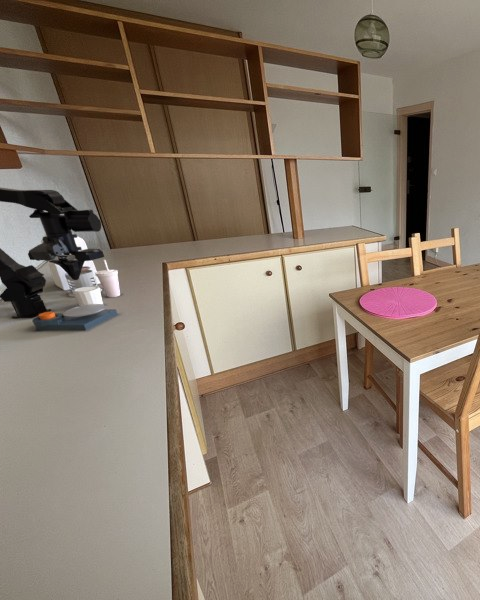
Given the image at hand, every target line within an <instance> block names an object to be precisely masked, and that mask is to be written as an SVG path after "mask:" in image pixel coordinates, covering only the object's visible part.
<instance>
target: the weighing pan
mask: <svg viewBox="0 0 480 600" xmlns="http://www.w3.org/2000/svg"><path fill="white" fill-rule="evenodd" d="M104 309H107V304H104V303H103V304H89V305H83V306H79V305H78V306H75V307H72V308H69V309H67V310H64V311H63V312H62V313H63V316H65V317H80V316H86V315H91V314H95V313H98V312H100V311H103V310H104Z"/></svg>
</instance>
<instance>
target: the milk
mask: <svg viewBox="0 0 480 600" xmlns="http://www.w3.org/2000/svg"><path fill="white" fill-rule="evenodd" d="M45 236H46V233H45V232H44V235H43V237H45ZM43 237H42V238H41V241H40V242H41V243H40V244H42V243H43ZM74 240H75V243H76V245H77V247H81V249H82V250H85V249H89V248H88V246H87V244H86V241H85V240H84V238H82V237H80V236H78V235H77V238H74ZM79 251H81V250H79ZM47 263H48V266H49V269H50V273H51V275H52V279H53V281H54V284H55V286H57V287H58V288H60V289H62V290H63V291H69V290H70V288H69V285H68V282H67V280H66V277H65V274H66V272H65V271H64V269H63V268H62V267H60V266H59V265H57V264H55V263H51V262H49V261H47ZM83 266H88V267H90V269H88V270H92V271H93V274H94V278H95V279H96V280H95V281H96V282H97V283H96V284H97V285H101V283H100V281H99V279H98V277H97V276H96V274H95V273H96V272H98V271H97V268H96V265H95V263H94V260H91V261H85V262H84V264H83ZM91 280H92V279H91ZM68 281H70V280H68ZM92 283H94V282H92ZM69 284H70V283H69ZM70 285H71V284H70ZM70 287H71V286H70ZM71 288H72V287H71Z"/></svg>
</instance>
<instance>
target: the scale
mask: <svg viewBox="0 0 480 600" xmlns="http://www.w3.org/2000/svg"><path fill="white" fill-rule="evenodd" d="M54 313H55V316H56V317H54V318H51V319H46V320H40V318H39V316H36V317H33V318H32V324H33V325H34V328H35V330H36V331H88V330H91V329H92V328H94V327H96V326H98V325H99V324H102V323H104V322H106V321H108V320H110V319H111V318H113V317H116V316H118V311H117V309H116V308H115V309H107V308H106V309H104V310H103V311H100V312H98V313H95V314H91V315H86V316H80V317H65V316H63V312H54Z"/></svg>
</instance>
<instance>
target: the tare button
mask: <svg viewBox="0 0 480 600" xmlns="http://www.w3.org/2000/svg"><path fill="white" fill-rule="evenodd" d="M55 313H56V312H54V311H49V312H45V313H41V314H39V315H38V316H37V317H39V318H40V320H46V319H51V318H54V317H56V316H55Z"/></svg>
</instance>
